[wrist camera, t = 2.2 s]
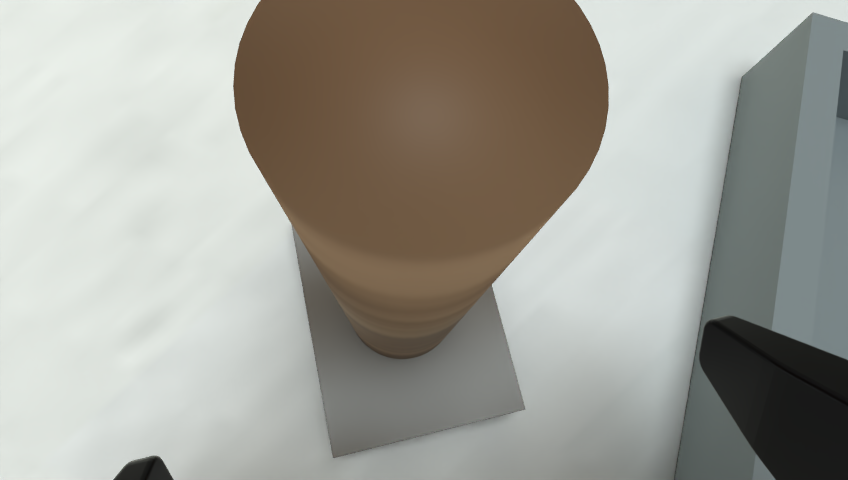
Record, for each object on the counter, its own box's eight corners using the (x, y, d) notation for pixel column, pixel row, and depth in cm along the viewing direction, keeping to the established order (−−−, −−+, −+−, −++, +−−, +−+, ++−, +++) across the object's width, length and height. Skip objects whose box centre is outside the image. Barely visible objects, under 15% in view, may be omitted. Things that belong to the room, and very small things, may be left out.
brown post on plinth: (511, 407, 19) (916, 450, 4) (339, 451, 18) (119, 678, 4) (455, 195, 21) (596, -266, 6) (298, 227, 20) (54, -207, 6)
